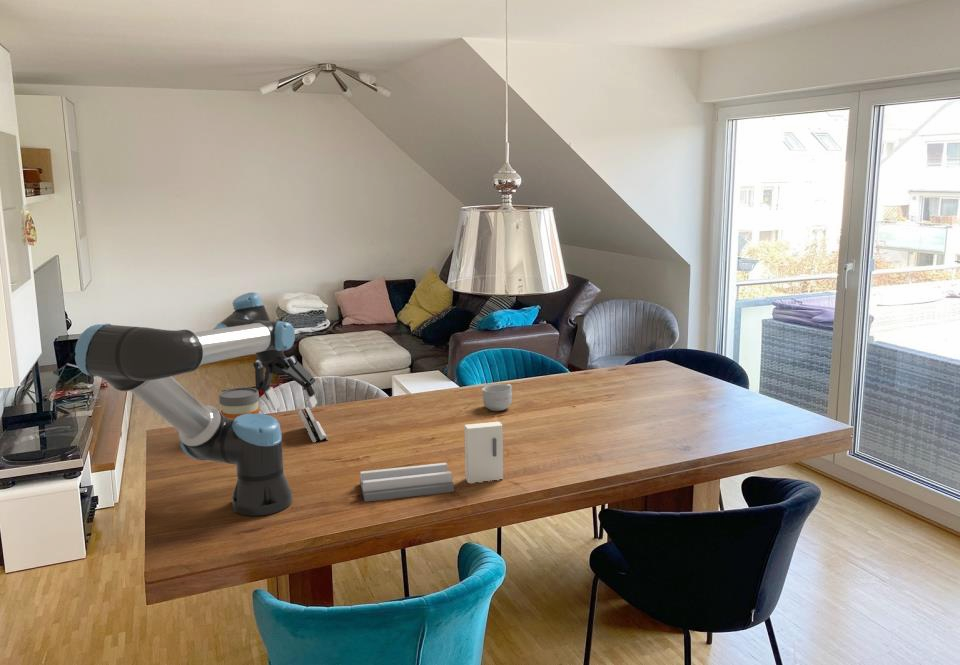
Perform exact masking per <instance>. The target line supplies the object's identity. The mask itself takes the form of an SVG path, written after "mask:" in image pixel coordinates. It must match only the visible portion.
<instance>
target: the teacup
mask: <svg viewBox="0 0 960 665" xmlns="http://www.w3.org/2000/svg"><path fill="white" fill-rule="evenodd" d="M481 392H482V403H483V405H484V407H486V408H487V409H488V410H490V411H495V412H499V411H504V410H507V409H508V407H510V406H511V404H512V401H513V400H512V399H513V397H512V396H513V395H512V393H513V386H512V384H510V383H507V384H498V383H497V384H490V385H485V386H484V387H482V388H481Z"/></svg>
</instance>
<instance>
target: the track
mask: <svg viewBox="0 0 960 665" xmlns="http://www.w3.org/2000/svg"><path fill="white" fill-rule="evenodd" d="M359 476H360V477H359V484H360V488H361V492H362V497H363V499H364V500H363V501H364V502H365V503H369V502H374V501H375V502H376V501H384V500H392V499H401V498H411V497H419V496H428V495H435V494H445V493H454V492H455V488H454V487H455V485H454V482H453V472H452V470H451V471H450V470H449V471H448V464H447V462H440V463H439V462H438V463H429V464H419V465H411V466H402V467H401V466H400V467H393V468H391V467H390V468H383V469H382V468H381V469H373V470H365V471H363V470H362V471H360V475H359Z"/></svg>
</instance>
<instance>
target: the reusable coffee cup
mask: <svg viewBox="0 0 960 665" xmlns="http://www.w3.org/2000/svg"><path fill="white" fill-rule="evenodd" d="M260 399H261V398H260V394H259V390H256V387H255V388H254V387H247V386H246V387H234V388H229V389H226V390H223V391H221V392H220V393H219V404H220V407H221V411H220V413H221V414H223V415H224V416H225V417H227V418H232V419H235V418H236V417H238V416H240V415H244V414H256V413H259V414H260V406H259V401H260Z"/></svg>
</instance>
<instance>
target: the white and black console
mask: <svg viewBox="0 0 960 665" xmlns="http://www.w3.org/2000/svg"><path fill="white" fill-rule="evenodd" d="M297 413H298V414H299V417H300V419H301V421H302V423H303V425H304V427H305V430H306V429H307V430H306V431H308V432H307V434H308V436H309V438H310V439H311V441H312V443H313V442H316V441H317V442H318V441H319V440H320V441H322V440H324V439H325V440H326V441H327V440H329V438H328V436H327V434H326V432H325V431H324V429H323V427H322V426H321V424H320V422H319V421H318V420H316V419H315V417H314V415H313V412H312V411H311V408H310V406H307V407H304V409H300V410H298V412H297ZM317 442H316V443H317Z"/></svg>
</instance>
